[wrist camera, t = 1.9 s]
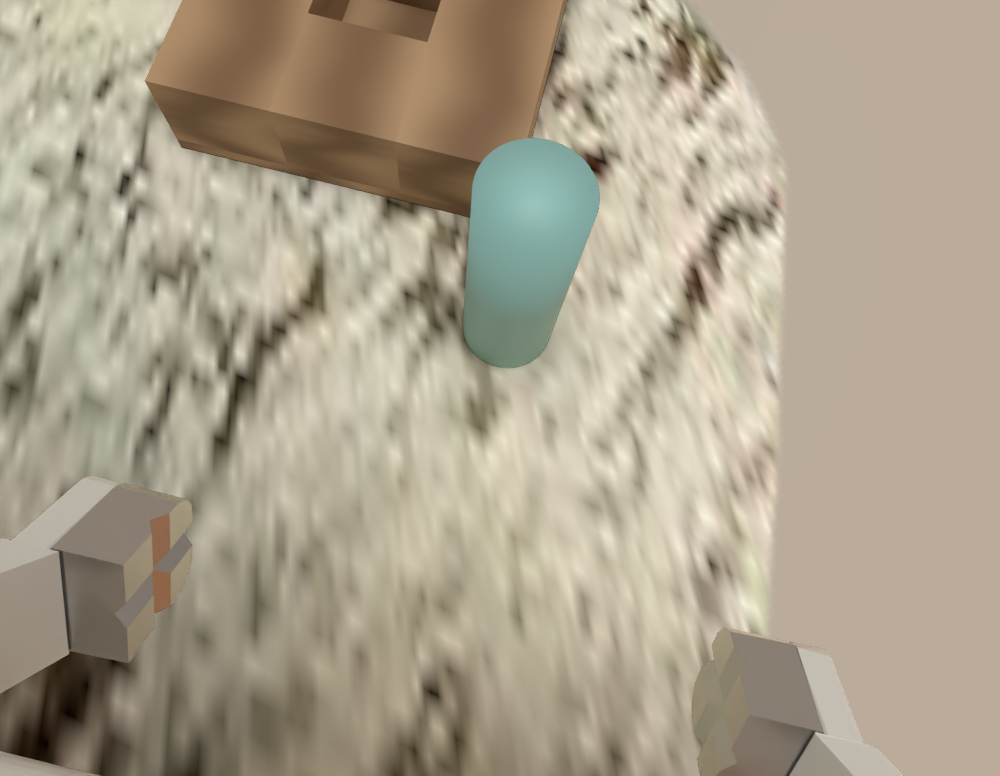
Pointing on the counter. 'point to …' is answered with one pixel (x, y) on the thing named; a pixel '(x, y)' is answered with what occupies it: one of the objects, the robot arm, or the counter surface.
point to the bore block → (359, 87)
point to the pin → (524, 246)
